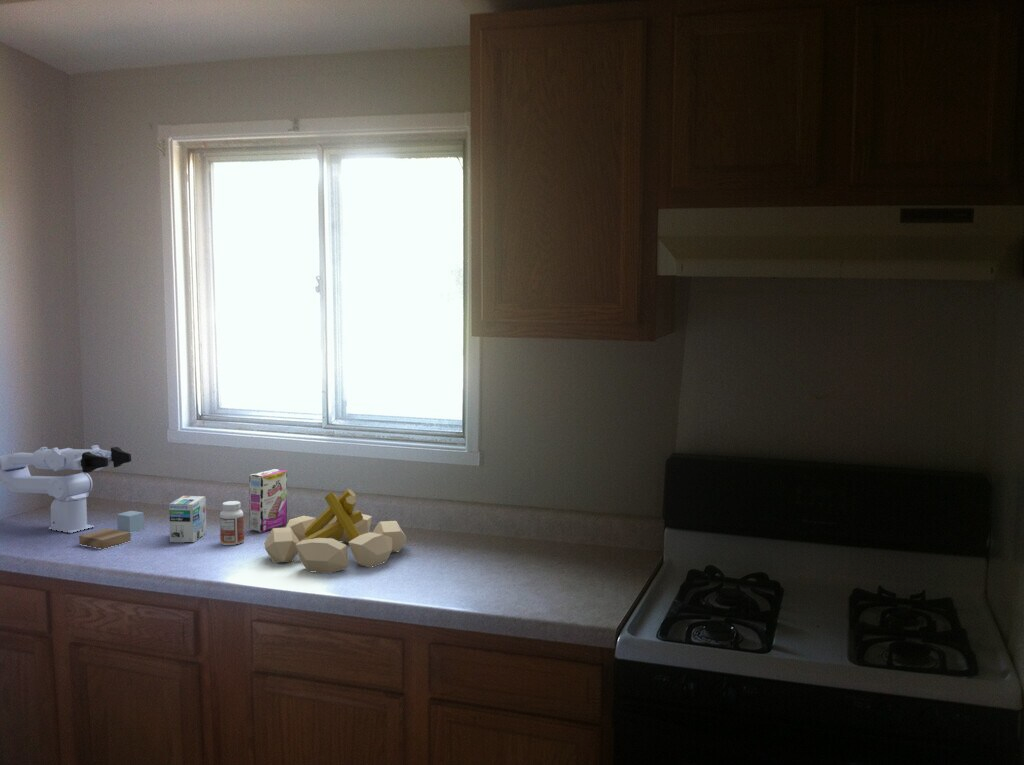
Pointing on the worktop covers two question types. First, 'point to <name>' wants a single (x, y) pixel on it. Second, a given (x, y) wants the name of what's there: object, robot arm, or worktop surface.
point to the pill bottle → (231, 523)
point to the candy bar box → (268, 500)
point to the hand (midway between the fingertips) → (118, 459)
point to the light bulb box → (187, 518)
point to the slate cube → (130, 521)
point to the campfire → (335, 537)
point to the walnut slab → (104, 538)
